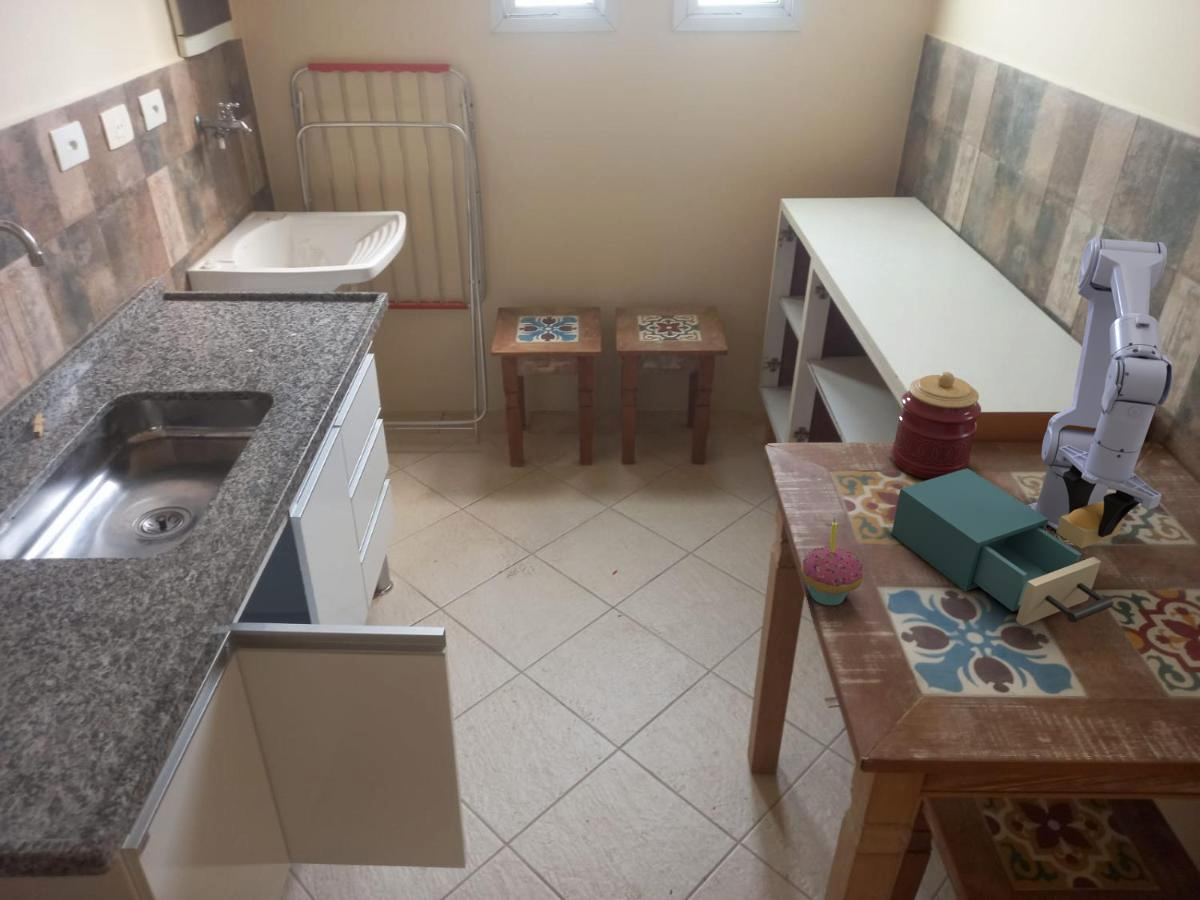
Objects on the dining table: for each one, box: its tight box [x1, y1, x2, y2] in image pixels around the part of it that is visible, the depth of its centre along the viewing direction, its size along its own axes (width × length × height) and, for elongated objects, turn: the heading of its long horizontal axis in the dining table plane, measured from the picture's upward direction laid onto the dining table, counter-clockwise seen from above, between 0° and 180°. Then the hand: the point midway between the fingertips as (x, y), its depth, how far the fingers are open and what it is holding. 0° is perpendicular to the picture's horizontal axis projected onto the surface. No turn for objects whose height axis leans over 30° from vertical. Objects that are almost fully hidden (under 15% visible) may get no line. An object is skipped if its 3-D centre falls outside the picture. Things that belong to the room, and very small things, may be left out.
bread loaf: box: [1055, 502, 1125, 549], centre depth 123 cm, size 8×4×4 cm, turn 115°
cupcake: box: [800, 517, 865, 606], centre depth 122 cm, size 9×8×12 cm
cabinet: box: [891, 467, 1049, 592], centre depth 132 cm, size 16×14×9 cm
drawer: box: [972, 526, 1114, 627], centre depth 122 cm, size 19×12×7 cm, turn 25°
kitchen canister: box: [891, 371, 982, 480], centre depth 152 cm, size 13×13×18 cm
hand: (1089, 525), depth 124 cm, fingers closed on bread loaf, 4 cm apart
